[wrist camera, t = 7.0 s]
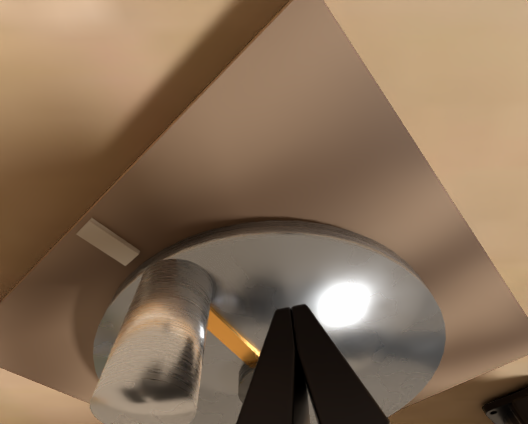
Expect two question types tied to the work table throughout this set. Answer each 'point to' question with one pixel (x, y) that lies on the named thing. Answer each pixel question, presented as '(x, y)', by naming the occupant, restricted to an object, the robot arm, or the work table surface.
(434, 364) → the capstan dial
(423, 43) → the work table surface
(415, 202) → the base plate
